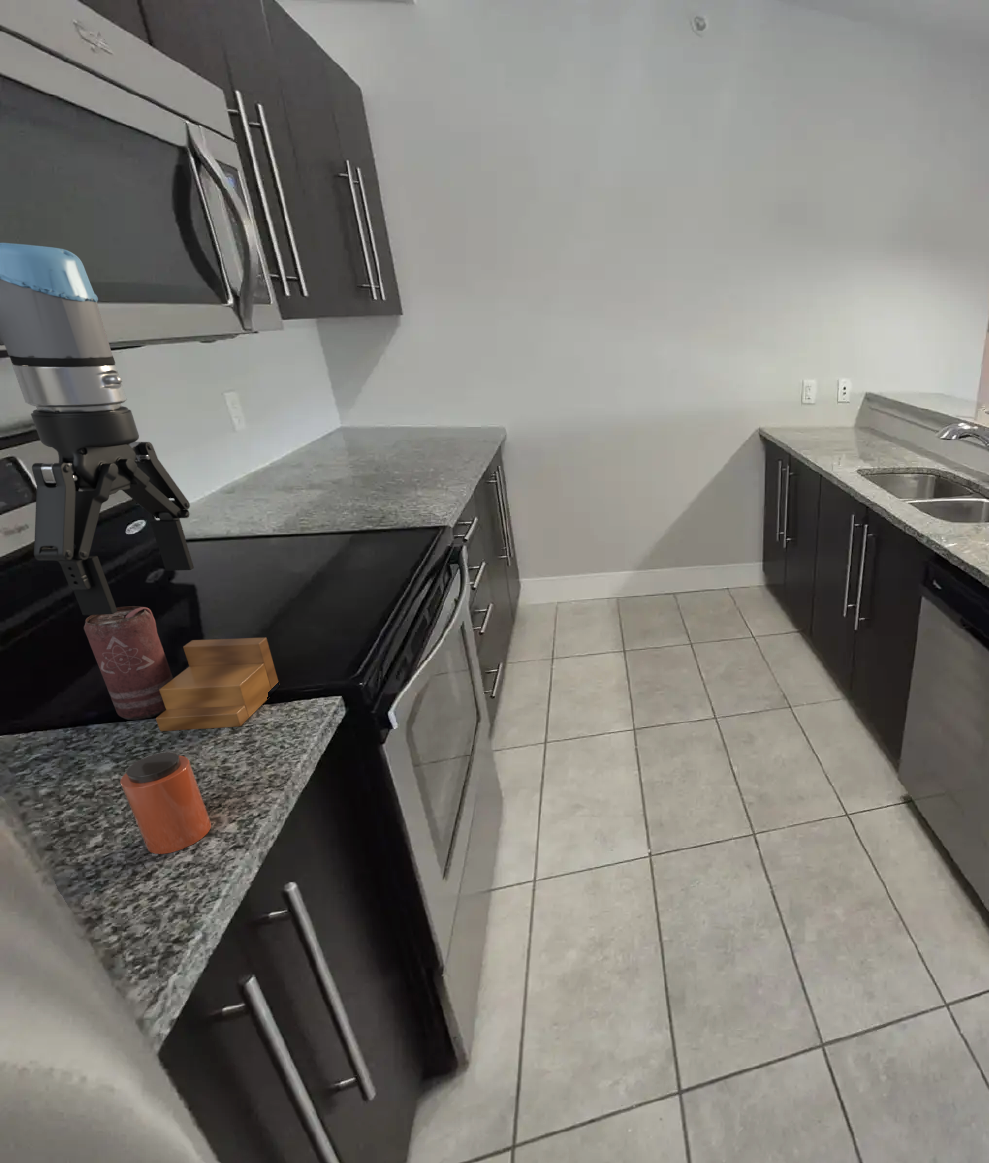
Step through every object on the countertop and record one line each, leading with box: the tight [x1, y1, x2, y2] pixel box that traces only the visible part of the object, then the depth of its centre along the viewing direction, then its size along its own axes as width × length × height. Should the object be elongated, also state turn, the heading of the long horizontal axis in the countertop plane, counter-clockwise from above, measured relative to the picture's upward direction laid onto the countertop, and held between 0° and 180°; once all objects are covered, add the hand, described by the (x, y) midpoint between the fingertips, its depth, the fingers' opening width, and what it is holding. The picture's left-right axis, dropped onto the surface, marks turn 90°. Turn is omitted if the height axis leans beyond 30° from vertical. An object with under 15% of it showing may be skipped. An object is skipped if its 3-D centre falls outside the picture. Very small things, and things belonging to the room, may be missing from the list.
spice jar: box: [119, 752, 212, 855], centre depth 64 cm, size 5×5×9 cm
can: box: [83, 605, 174, 721], centre depth 83 cm, size 6×6×14 cm
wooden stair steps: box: [155, 637, 279, 732], centre depth 85 cm, size 9×10×8 cm
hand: (143, 589), depth 76 cm, fingers open, 13 cm apart
